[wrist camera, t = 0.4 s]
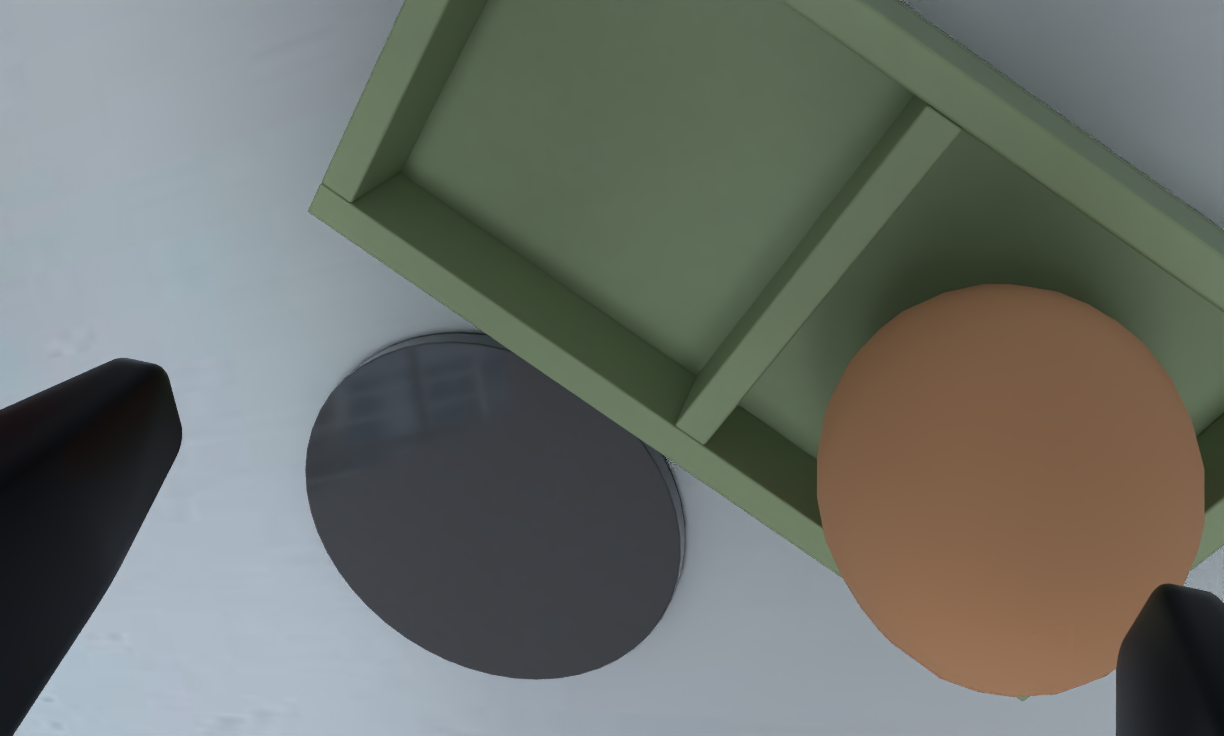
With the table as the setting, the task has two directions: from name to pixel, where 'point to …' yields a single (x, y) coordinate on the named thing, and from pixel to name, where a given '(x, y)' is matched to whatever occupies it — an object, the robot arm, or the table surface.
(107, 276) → the table surface
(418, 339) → the coaster
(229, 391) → the table surface
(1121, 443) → the egg
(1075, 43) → the table surface
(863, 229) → the tray
